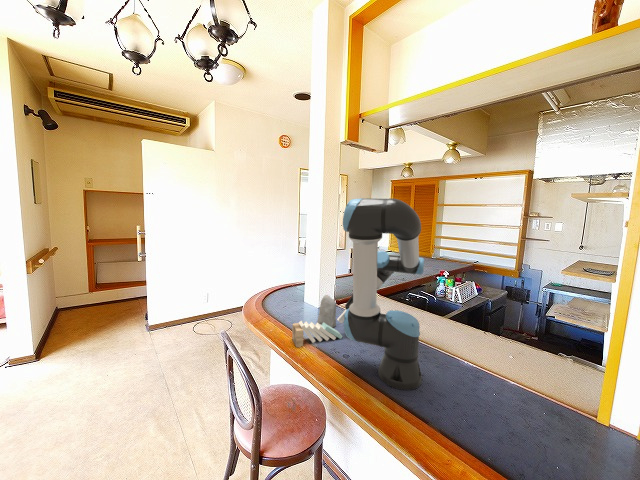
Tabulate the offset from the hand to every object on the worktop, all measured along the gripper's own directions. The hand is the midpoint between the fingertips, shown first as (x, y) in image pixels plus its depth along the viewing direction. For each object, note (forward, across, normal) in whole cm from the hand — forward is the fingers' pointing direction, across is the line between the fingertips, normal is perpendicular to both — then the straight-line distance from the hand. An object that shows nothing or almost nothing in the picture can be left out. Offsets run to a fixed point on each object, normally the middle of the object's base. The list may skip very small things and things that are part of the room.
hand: (339, 321), depth 127 cm
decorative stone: (+6, +15, -5) cm, 17 cm away
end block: (+20, 0, +9) cm, 22 cm away
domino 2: (+12, 0, +2) cm, 12 cm away
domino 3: (+9, 0, 0) cm, 9 cm away
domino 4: (+7, 0, -3) cm, 7 cm away
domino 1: (+14, 0, +4) cm, 15 cm away
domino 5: (+5, 0, -5) cm, 7 cm away
